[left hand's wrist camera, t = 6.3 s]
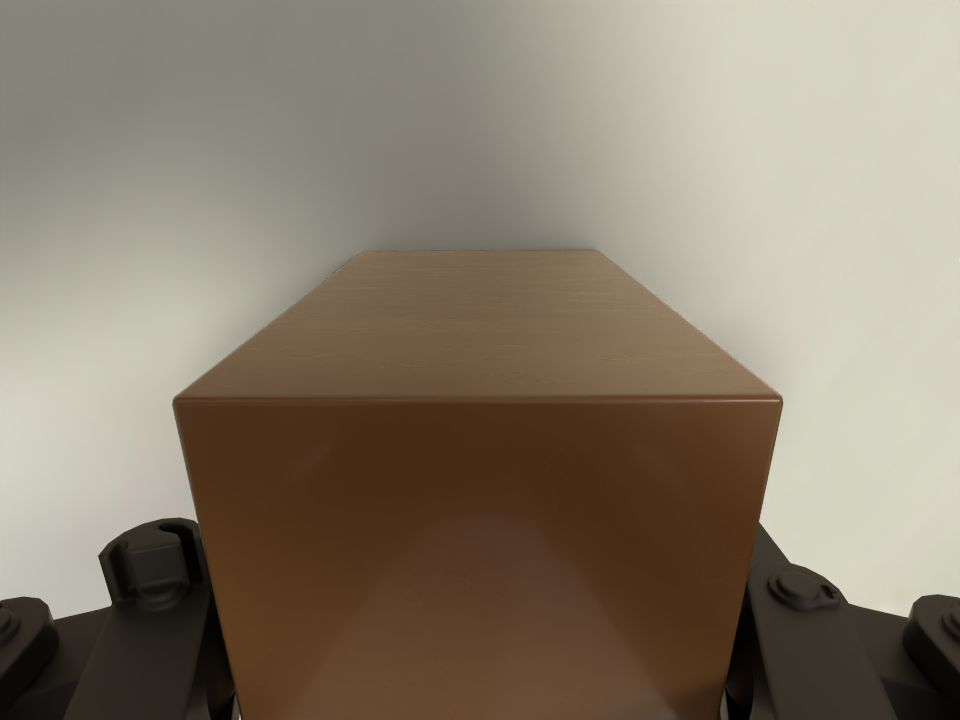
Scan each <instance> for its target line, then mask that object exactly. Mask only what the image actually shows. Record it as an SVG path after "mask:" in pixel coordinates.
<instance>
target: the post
mask: <svg viewBox="0 0 960 720" xmlns="http://www.w3.org/2000/svg"><path fill="white" fill-rule="evenodd" d="M172 406H173V410H174V415H175V420H176V424H177V429H178V433H179V438H180V442H181V447H182V451H183V456H184V461H185V465H186V470H187V474H188V479H189V483H190V488H191V492H192V497H193V502H194V506H195V511H196V515H197V520H198V524H199V529H200V533H201V538H202V543H203V547H204V552H205V556H206V561H207V565H208V570H209V575H210V579H211V584H212V588H213V593H214V597H215V602H216V606H217V611H218V616H219V620H220V625H221V629H222V634H223V638H224V643H225V647H226V652H227V657H228V661H229V666H230V670H231V675H232V679H233V684H234V688H235V693H236V698H237V702H238V707H239V711H240V716H241V720H718V718H719V713H720V708H721V703H722V698H723V693H724V688H725V684H726V679H727V674H728V669H729V664H730V659H731V655H732V650H733V645H734V640H735V635H736V630H737V625H738V621H739V616H740V611H741V606H742V601H743V596H744V591H745V587H746V582H747V577H748V572H749V567H750V562H751V557H752V553H753V548H754V543H755V538H756V533H757V528H758V523H759V519H760V514H761V509H762V504H763V499H764V494H765V489H766V485H767V480H768V475H769V470H770V465H771V460H772V455H773V451H774V446H775V441H776V436H777V431H778V426H779V421H780V417H781V412H782V407H783V399H782V396H781V395H780V394H779V393H778V392H776V391H775V390H774V389H773V388H771V387H770V386H769V385H768V384H766V383H765V382H764V381H762V380H761V379H760V378H759V377H757V376H756V375H755V374H754V373H752V372H751V371H750V370H749V369H747V368H746V367H745V366H744V365H742V364H741V363H740V362H738V361H737V360H736V359H735V358H733V357H732V356H731V355H730V354H728V353H727V352H726V351H725V350H723V349H722V348H721V347H720V346H718V345H717V344H716V343H715V342H713V341H712V340H711V339H709V338H708V337H707V336H706V335H704V334H703V333H702V332H701V331H699V330H698V329H697V328H696V327H694V326H693V325H692V324H691V323H689V322H688V321H687V320H685V319H684V318H683V317H682V316H680V315H679V314H678V313H677V312H675V311H674V310H673V309H672V308H670V307H669V306H668V305H667V304H665V303H664V302H663V301H661V300H660V299H659V298H658V297H656V296H655V295H654V294H653V293H651V292H650V291H649V290H648V289H646V288H645V287H644V286H643V285H641V284H640V283H639V282H638V281H636V280H635V279H634V278H632V277H631V276H630V275H629V274H627V273H626V272H625V271H624V270H622V269H621V268H620V267H619V266H617V265H616V264H615V263H614V262H612V261H611V260H610V259H608V258H607V257H606V256H605V255H603V254H602V253H601V252H600V251H598V250H514V251H363V252H361V253H359V254H358V255H357V256H356V257H354V258H353V259H352V260H350V261H349V262H348V263H347V264H345V265H344V266H343V267H341V268H340V269H339V270H338V271H336V272H335V273H334V274H332V275H331V276H330V277H328V278H327V279H326V280H325V281H323V282H322V283H321V284H319V285H318V286H317V287H316V288H314V289H313V290H312V291H310V292H309V293H308V294H307V295H305V296H304V297H303V298H301V299H300V300H299V301H298V302H296V303H295V304H294V305H292V306H291V307H290V308H288V309H287V310H286V311H285V312H283V313H282V314H281V315H279V316H278V317H277V318H276V319H274V320H273V321H272V322H270V323H269V324H268V325H267V326H265V327H264V328H263V329H261V330H260V331H259V332H258V333H256V334H255V335H254V336H252V337H251V338H250V339H248V340H247V341H246V342H245V343H243V344H242V345H241V346H239V347H238V348H237V349H236V350H234V351H233V352H232V353H230V354H229V355H228V356H227V357H225V358H224V359H223V360H221V361H220V362H219V363H218V364H216V365H215V366H214V367H212V368H211V369H210V370H208V371H207V372H206V373H205V374H203V375H202V376H201V377H199V378H198V379H197V380H196V381H194V382H193V383H192V384H190V385H189V386H188V387H187V388H185V389H184V390H183V391H181V392H180V393H179V394H178V395H176V396H175V397H174V399H173V404H172Z"/></svg>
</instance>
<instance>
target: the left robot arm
mask: <svg viewBox="0 0 960 720" xmlns="http://www.w3.org/2000/svg"><path fill="white" fill-rule="evenodd" d="M98 557H99V560H100V564H101V567H102V570H103V574H104V577H105V580H106V584H107V587H108V590H109V594H110V597H111V600H112V605H111V606H110V607H106V608H103V609H100V610H95V611H91V612H86V613H82V614H78V615H73V616H69V617H65V618H60V619H56V620H53V618H52V615H51V612H50V609H49V607H48V605H47V604H46V603H44V602H43V601H42V600H41V599H39V598H31V597H18V598H12V599H6V600H1V601H0V720H239V714H240V711H239V707H238V702H237V698H236V693H235V688H234V684H233V679H232V675H231V670H230V666H229V661H228V657H227V652H226V647H225V643H224V638H223V634H222V629H221V625H220V620H219V616H218V611H217V606H216V602H215V597H214V593H213V588H212V584H211V579H210V575H209V570H208V565H207V561H206V556H205V552H204V547H203V543H202V538H201V533H200V529H199V524H197V523H196V522H195V521H193V520H189V519H184V518H167V519H160V520H156V521H152V522H148V523H144V524H141V525H139V526H137V527H135V528H133V529H130V530H128V531H126V532H124V533H122V534H121V535H120V536H118V537H117V538H115V539H114V540H113V541H111V542H110V543H108V544H107V546H106V547H105V548H104V549H103V551H102V552H101V553H100V554H99V556H98ZM718 720H960V598H957V597H951V596H945V595H939V594H936V595H928V596H922V597H920V598H919V599H918V600H917V601H915V602H914V603H913V606H912V609H911V611H910V614H909V617H908V618H906V617H902V616H897V615H893V614H889V613H884V612H880V611H876V610H871V609H867V608H862V607H859V606H855V605H852V604H849V603H848V602H847V600H846V599H845V597H844V596H843V594H842V593H841V592H840V590H839V589H838V588H837V587H836V586H834V585H833V584H832V583H831V582H830V581H828V580H827V579H826V578H825V577H823V576H821V575H819V574H817V573H815V572H813V571H811V570H809V569H808V568H805V567H802V566H799V565H795V564H792V563H790V562H789V561H788V559H787V558H786V557H785V555H784V554H783V553H782V551H781V550H780V549H779V548H778V546H777V545H776V544H775V542H774V541H773V540H772V538H771V537H770V536H769V534H768V533H767V532H766V530H765V529H764V528H763V527H762V525H761V524H760V523H758V528H757V533H756V538H755V543H754V548H753V553H752V557H751V562H750V567H749V572H748V577H747V582H746V587H745V591H744V596H743V601H742V606H741V611H740V616H739V621H738V625H737V630H736V635H735V640H734V645H733V650H732V655H731V659H730V664H729V669H728V674H727V679H726V684H725V688H724V693H723V698H722V703H721V708H720V713H719V718H718Z"/></svg>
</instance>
